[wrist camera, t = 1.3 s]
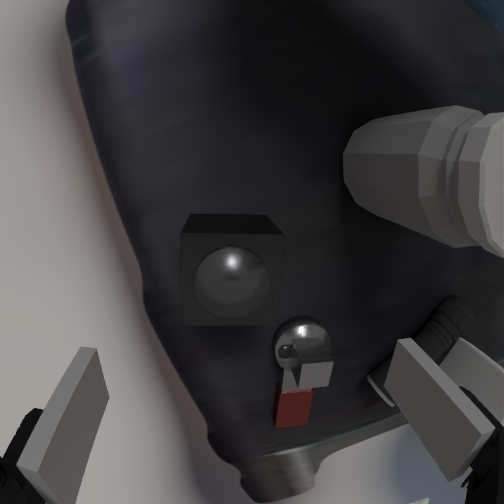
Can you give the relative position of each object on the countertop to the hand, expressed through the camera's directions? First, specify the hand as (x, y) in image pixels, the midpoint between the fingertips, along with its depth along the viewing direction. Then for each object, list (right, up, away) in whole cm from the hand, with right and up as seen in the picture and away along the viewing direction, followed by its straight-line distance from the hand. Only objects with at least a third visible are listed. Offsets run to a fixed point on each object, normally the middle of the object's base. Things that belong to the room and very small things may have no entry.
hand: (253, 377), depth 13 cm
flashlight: (+21, -6, +24) cm, 32 cm away
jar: (+13, +14, +17) cm, 25 cm away
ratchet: (+5, -9, +22) cm, 25 cm away
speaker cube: (-2, +5, +18) cm, 19 cm away
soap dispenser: (+31, -11, +26) cm, 42 cm away
